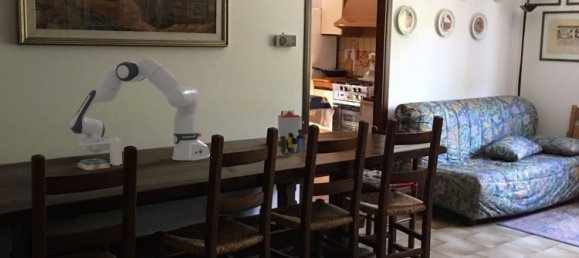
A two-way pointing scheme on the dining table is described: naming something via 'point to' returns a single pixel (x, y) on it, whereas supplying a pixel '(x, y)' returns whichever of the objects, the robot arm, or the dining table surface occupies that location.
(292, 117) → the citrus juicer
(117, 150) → the cream pillar
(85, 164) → the birch base board
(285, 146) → the doll family
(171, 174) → the dining table surface
